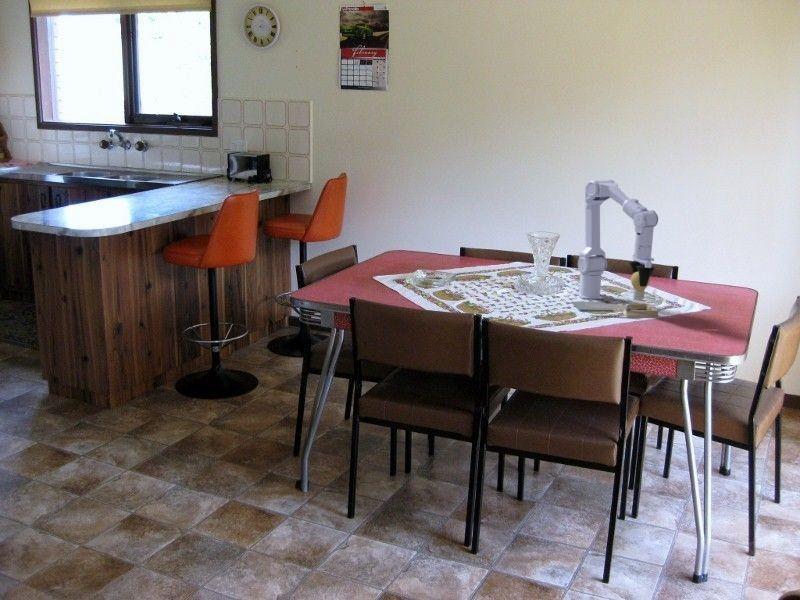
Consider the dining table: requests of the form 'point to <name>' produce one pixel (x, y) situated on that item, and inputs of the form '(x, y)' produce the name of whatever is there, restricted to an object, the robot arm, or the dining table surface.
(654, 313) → the square wooden frame
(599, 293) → the robot arm
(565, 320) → the dining table surface
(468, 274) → the dining table surface
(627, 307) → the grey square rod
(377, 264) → the dining table surface
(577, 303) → the gray square panel
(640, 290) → the light bulb
